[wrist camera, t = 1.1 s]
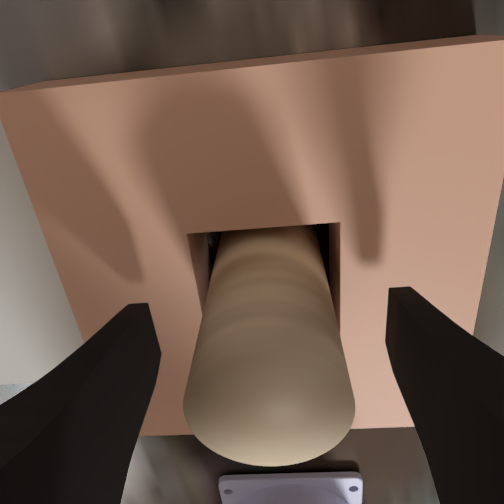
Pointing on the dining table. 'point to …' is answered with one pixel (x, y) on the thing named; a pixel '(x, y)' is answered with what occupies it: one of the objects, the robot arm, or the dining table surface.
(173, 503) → the dining table surface
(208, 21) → the dining table surface
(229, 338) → the plug
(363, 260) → the square board with hole
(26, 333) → the mat
